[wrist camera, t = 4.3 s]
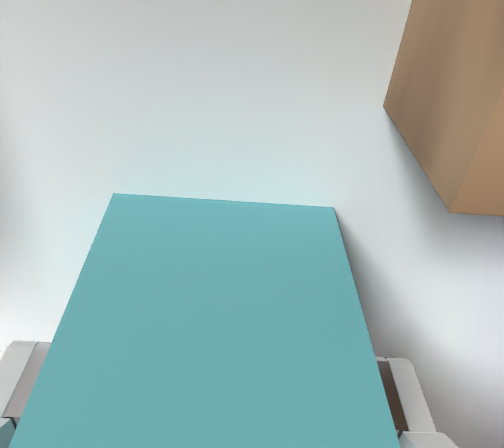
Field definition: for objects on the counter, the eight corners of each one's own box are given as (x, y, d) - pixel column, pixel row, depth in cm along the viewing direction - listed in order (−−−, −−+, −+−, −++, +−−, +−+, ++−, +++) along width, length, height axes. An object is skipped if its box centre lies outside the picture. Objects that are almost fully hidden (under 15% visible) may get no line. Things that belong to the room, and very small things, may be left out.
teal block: (113, 192, 10) (-1, 469, 5) (333, 206, 11) (409, 478, 6) (129, 337, 13) (65, 598, 8) (300, 344, 14) (332, 599, 9)
